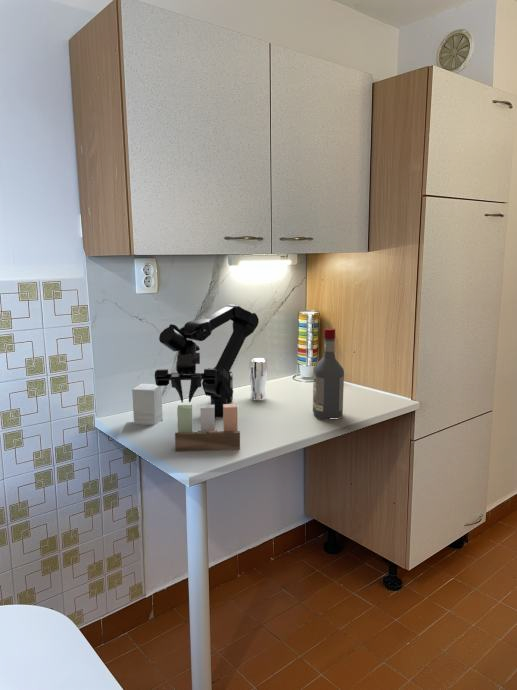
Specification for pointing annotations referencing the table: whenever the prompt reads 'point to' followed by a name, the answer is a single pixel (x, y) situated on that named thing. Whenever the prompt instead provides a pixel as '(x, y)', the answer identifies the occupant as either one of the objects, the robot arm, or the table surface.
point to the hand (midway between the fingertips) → (185, 401)
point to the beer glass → (258, 378)
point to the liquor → (328, 382)
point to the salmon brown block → (230, 417)
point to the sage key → (184, 418)
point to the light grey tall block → (207, 417)
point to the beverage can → (230, 385)
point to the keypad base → (207, 440)
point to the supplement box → (147, 404)
